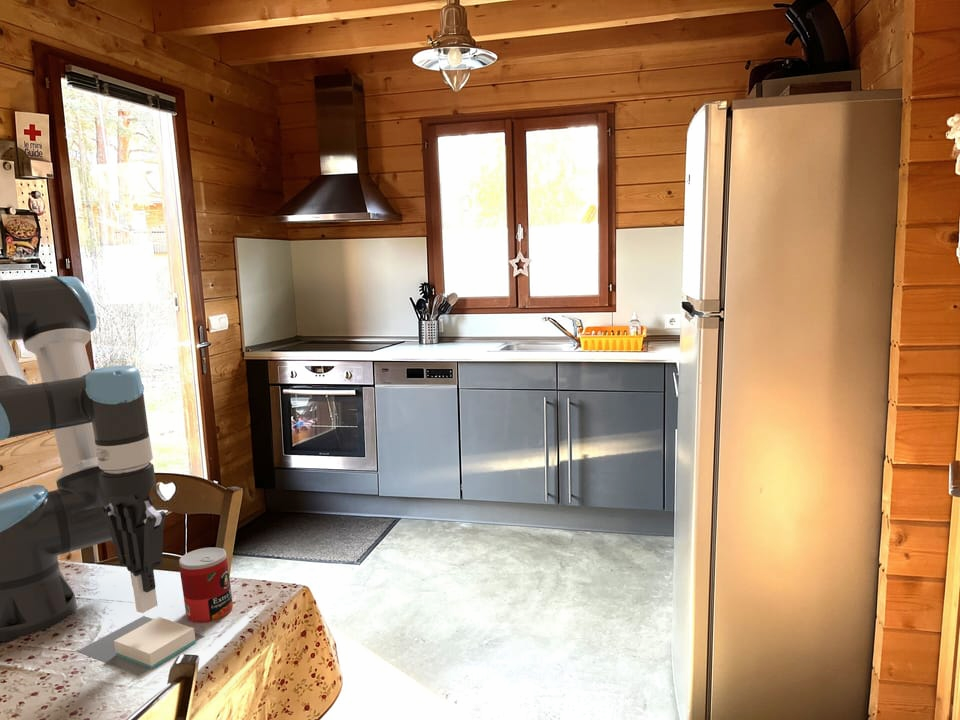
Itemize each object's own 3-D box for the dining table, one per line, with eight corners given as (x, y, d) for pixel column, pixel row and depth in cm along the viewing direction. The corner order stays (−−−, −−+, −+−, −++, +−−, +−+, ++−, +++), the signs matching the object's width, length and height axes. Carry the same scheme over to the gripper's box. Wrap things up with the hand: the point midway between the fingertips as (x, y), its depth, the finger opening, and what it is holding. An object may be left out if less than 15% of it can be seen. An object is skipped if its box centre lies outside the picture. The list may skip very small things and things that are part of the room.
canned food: (218, 627, 121) (210, 566, 119) (176, 625, 122) (168, 565, 121) (242, 604, 128) (235, 547, 126) (202, 602, 130) (195, 546, 128)
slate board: (77, 654, 115) (76, 651, 115) (144, 619, 125) (143, 615, 125) (139, 679, 107) (138, 675, 107) (205, 639, 117) (204, 635, 117)
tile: (113, 640, 112) (149, 653, 108) (158, 616, 119) (193, 628, 115) (116, 655, 113) (151, 668, 108) (160, 630, 120) (195, 642, 115)
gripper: (78, 469, 110) (100, 611, 113) (130, 478, 103) (152, 628, 107) (123, 455, 116) (142, 590, 120) (174, 463, 109) (194, 605, 113)
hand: (147, 608), depth 113 cm, fingers closed
